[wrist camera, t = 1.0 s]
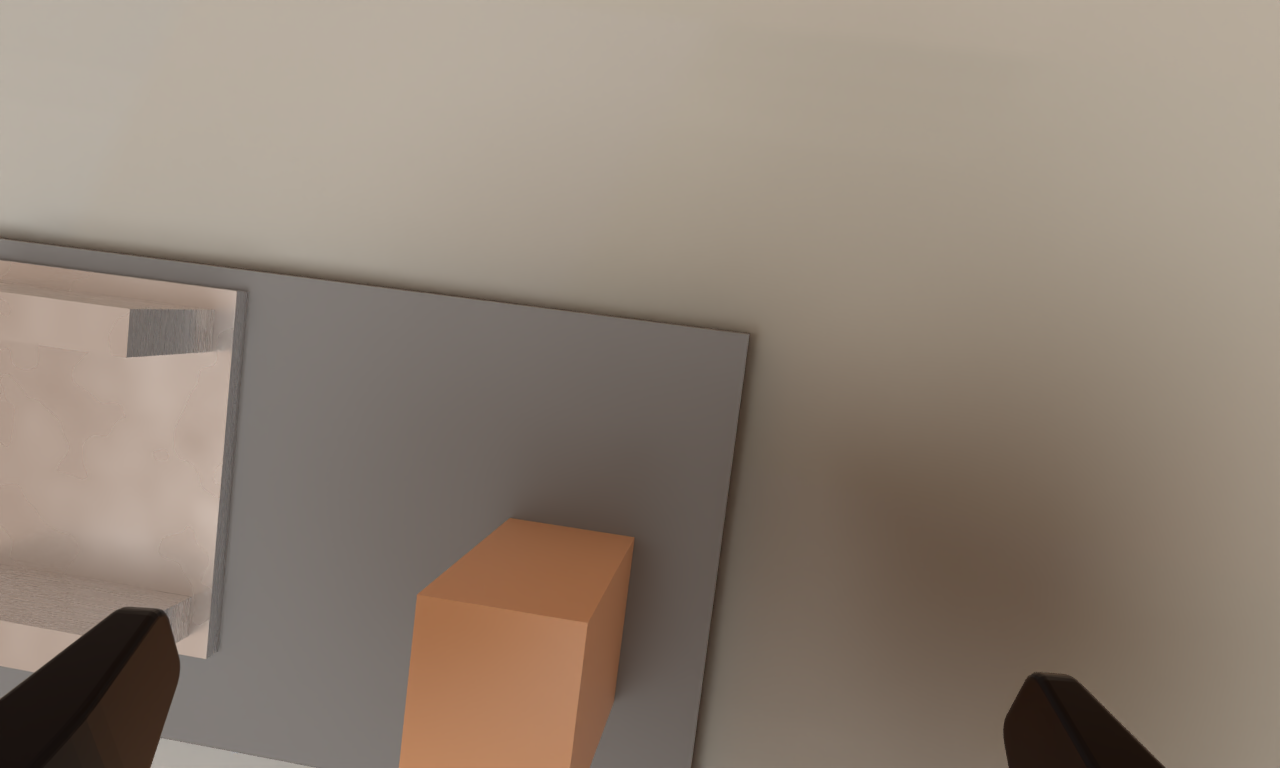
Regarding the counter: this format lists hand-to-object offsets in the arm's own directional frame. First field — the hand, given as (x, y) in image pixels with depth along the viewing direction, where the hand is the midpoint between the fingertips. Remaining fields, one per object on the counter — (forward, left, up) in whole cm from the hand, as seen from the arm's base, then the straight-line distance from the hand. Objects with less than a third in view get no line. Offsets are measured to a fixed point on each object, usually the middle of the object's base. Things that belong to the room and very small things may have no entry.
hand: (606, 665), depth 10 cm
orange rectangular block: (-4, +3, -12) cm, 12 cm away
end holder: (-2, +15, -12) cm, 19 cm away
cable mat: (-3, +9, -13) cm, 16 cm away
